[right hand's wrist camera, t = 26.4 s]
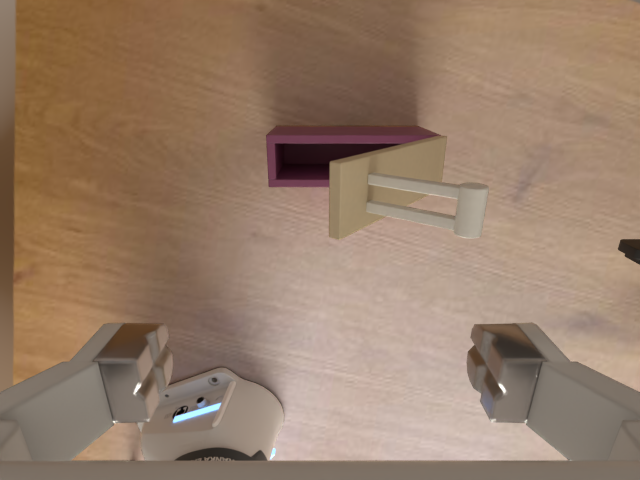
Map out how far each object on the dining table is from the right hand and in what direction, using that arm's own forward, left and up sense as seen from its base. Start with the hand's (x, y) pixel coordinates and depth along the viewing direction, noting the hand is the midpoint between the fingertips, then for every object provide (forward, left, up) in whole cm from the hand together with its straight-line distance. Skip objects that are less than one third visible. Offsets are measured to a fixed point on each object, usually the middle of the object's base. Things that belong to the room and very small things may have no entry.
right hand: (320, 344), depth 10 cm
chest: (+3, -1, -37) cm, 37 cm away
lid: (+6, -1, -21) cm, 22 cm away
